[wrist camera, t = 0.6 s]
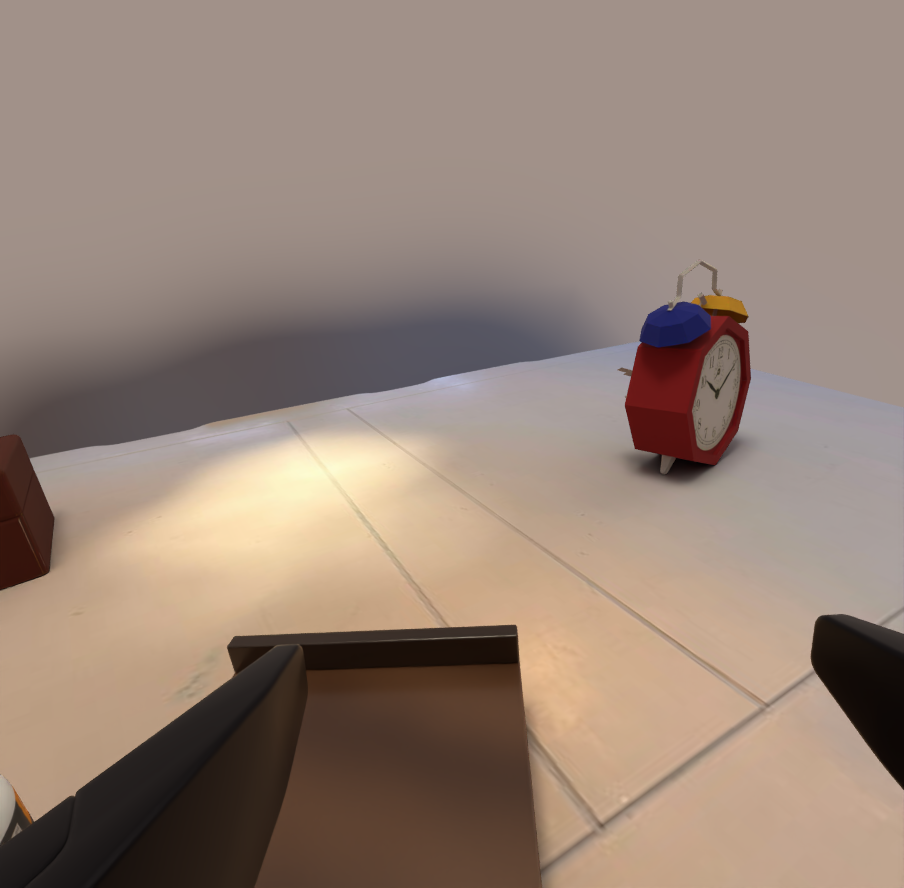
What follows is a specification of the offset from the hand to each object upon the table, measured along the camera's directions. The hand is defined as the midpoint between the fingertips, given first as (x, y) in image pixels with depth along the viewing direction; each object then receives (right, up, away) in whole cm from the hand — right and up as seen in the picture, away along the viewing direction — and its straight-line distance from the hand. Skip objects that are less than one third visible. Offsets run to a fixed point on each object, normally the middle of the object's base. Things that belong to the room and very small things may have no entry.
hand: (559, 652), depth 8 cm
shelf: (-6, -12, +12) cm, 18 cm away
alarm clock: (+22, +2, +43) cm, 49 cm away
